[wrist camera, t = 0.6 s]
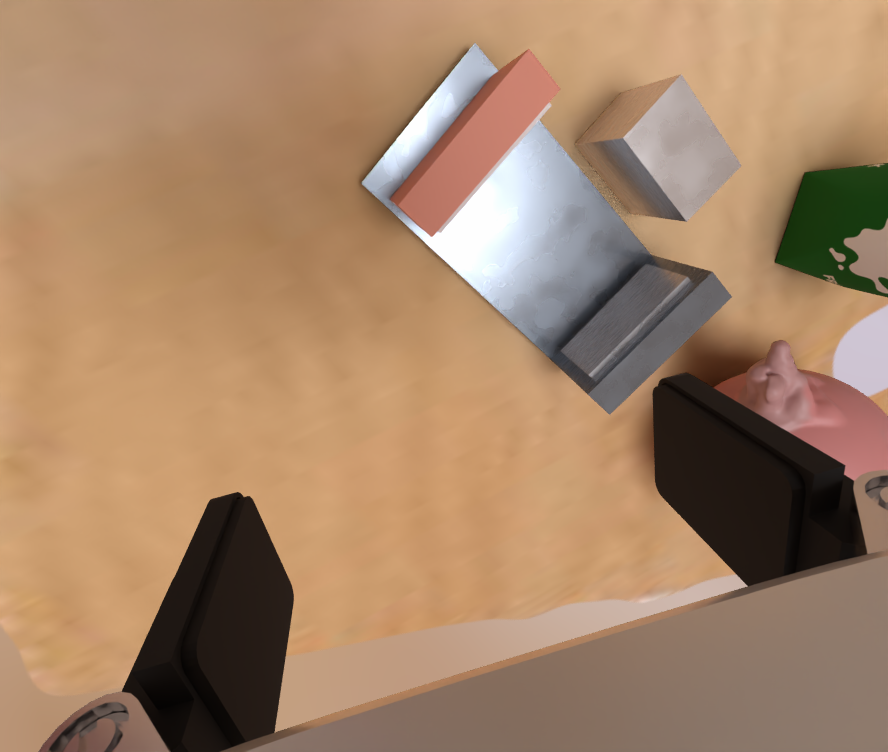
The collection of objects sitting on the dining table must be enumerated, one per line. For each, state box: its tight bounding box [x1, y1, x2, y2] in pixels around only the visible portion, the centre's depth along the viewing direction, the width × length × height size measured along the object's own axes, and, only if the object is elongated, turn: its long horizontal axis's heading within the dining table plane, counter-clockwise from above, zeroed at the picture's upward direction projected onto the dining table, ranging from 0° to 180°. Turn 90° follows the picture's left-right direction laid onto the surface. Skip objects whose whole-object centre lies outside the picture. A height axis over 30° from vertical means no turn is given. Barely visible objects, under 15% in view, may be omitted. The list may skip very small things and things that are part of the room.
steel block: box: [574, 75, 741, 222], centre depth 32 cm, size 4×7×7 cm, turn 47°
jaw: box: [390, 49, 560, 237], centre depth 29 cm, size 10×3×7 cm, turn 137°
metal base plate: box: [361, 43, 732, 414], centre depth 33 cm, size 11×22×8 cm, turn 47°
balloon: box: [713, 340, 888, 481], centre depth 38 cm, size 15×20×15 cm
